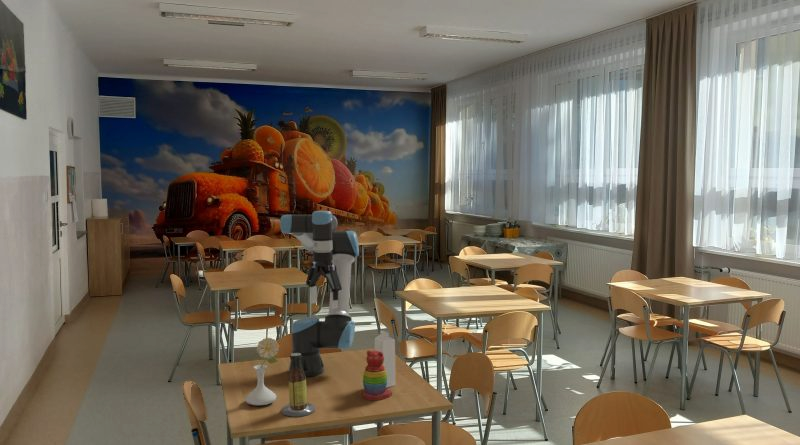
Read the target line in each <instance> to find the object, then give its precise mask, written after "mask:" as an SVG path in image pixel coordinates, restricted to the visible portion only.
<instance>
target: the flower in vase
mask: <svg viewBox="0 0 800 445" xmlns="http://www.w3.org/2000/svg"><path fill="white" fill-rule="evenodd" d="M279 349H280V345H279V344H278V342H277V340H276V339H275V338H272V337H268V336H267V337H266V338H263V339H262V340H259V342H258V344H257V347H256V352H257V354H259V357H261V358H263V359H265V360H264V361H263V362H262V361H260V360H258V359H254V358H253V360H254V361H255V362H259V363H261V364H258V365H257V364H256V365H253V370H254V371H255V373H256V377H257V384H256V387H255V388H254V389H253V390H252V391H251V392H249V393H248V394H247V395H246V397H245V402H246V403H247V404H248V405H252V406H266V405H269V404H271V403H274V402H275V401H276V400H277V394H276V393H274V391H272V390H271V389H269V388H268V387H267V386H266V385H265V383H264V382H265V380H264V378H265V377H264V375H265V371H266V369H267V367H268V366H267V365H266V364H265V363H266V362H267V363H268V364H271V365H272V364H275V363H277V362H278V359H276V358H275V356H276V355H277V354H278V351H279Z"/></svg>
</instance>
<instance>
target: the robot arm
mask: <svg viewBox="0 0 800 445" xmlns="http://www.w3.org/2000/svg"><path fill="white" fill-rule="evenodd" d="M311 213H312V214H291V213H290V214H283V215H281V217H280V221H279V225H280V226H279V228H280V232H282V234H286V235H287V234H288V235H289V234H290V235H291V234H292V235H293V236H294V237H295V238H296V239H297V240H298V241H299V242H300V243H301V246H302V248H303V249H305V250H306V251H307V252H310V253H312V262H309V271H308V274H307V276H306V281H305V285H307V286H308V287H309V300H310V301H309V303H310V305H312V304H317V303H318V290H317V289H318V288H317V283H318V281H319V279H320V277H322V276H323V277H324V278H325V279H326V281H327V283H328V285H329V287H330V292H329V307H328V308H329V309H328V313H327V314H326V315H325V316H324V320H320V318H319V317H317V316H307V317H303V318H299V319H297V320H295V321H293V322H292V324H291V345H292V348H291V350H292V351H291V352H292V353H291V354H293V353H301V356H302V358H301V364H302V368H303V371H304V373H305V376H306V378H307V377H315V376H319V375H321V374H323V373H324V372H325V364H324V362H323V359H322V356H321V352H320V350H321V349H330V350H331V349H333V350H334V349H335V350H336V349H337V350H340V349H349V348H351V347H352V345H353V342H354V337H355V332H356V324H355V323H356V322H355V321H353V318H352V316H351V315H350V314H349V310H350V294H351V293H350V292H351V278H352V264H353V263H354V262H355V261H356V258H357V257H359V256H360V246H359V240H358V234H357V233H356V232H355V231H353V230H336V229H337V227H338V219H337V217H336V216H335V215H333V213H332V211H329V210H314V211H313V212H311ZM331 263H332V265H331ZM290 369H291V361H290V363H289V366H288V372H289V371H290Z"/></svg>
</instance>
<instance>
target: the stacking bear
mask: <svg viewBox="0 0 800 445" xmlns="http://www.w3.org/2000/svg"><path fill="white" fill-rule="evenodd" d="M365 359H366V363H367V365H365V369H364V371H363V375H362V385H363V398H365V400H369V401H380V400H385V399H388V398H389V397H392V396H393V392H392V390H390V389H387V388H386V386H387V375H386V370H385V367H384V366H383V365H382V364H383V361H384V356H383V353H382V352H379V351H375V350H372V351H371V350H367V351H366V358H365Z"/></svg>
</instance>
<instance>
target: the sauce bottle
mask: <svg viewBox="0 0 800 445" xmlns="http://www.w3.org/2000/svg"><path fill="white" fill-rule="evenodd" d="M289 357H290V358H289V359H290V362H291V369H290V371H289V370H288V395H289V398H288V399H289V404H290V407H291V409H293V410H303V409H305V408H306V407H307V403H308V394H307V393H308V392H307V379H306V378H307V377H306V376H305V373H304V371H303V368H302V364H301V358H302V356H301V353H293V354H292V353H290V354H289Z"/></svg>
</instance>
